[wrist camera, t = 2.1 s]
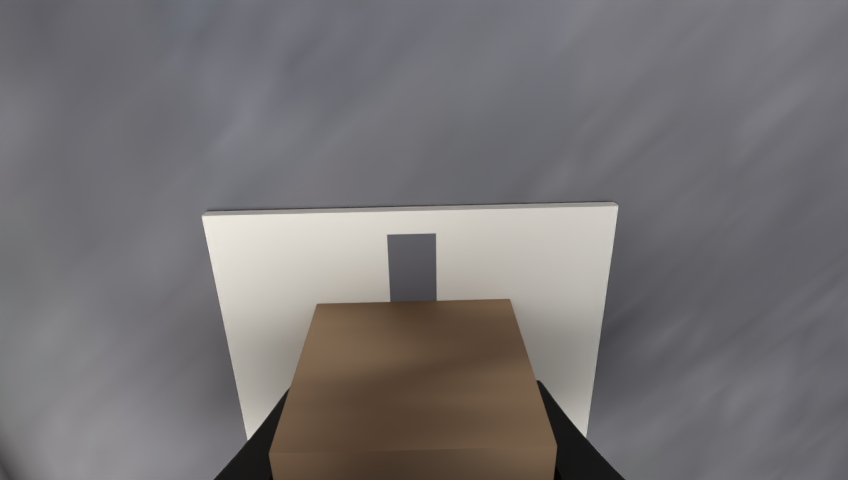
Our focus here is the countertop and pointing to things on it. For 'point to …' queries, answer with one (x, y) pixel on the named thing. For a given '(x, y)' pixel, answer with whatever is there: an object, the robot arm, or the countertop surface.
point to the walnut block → (414, 396)
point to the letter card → (413, 281)
